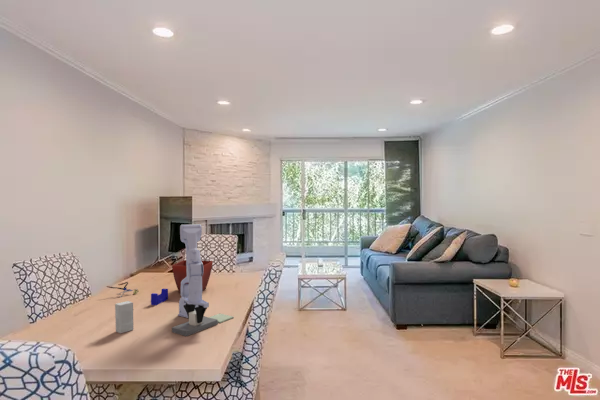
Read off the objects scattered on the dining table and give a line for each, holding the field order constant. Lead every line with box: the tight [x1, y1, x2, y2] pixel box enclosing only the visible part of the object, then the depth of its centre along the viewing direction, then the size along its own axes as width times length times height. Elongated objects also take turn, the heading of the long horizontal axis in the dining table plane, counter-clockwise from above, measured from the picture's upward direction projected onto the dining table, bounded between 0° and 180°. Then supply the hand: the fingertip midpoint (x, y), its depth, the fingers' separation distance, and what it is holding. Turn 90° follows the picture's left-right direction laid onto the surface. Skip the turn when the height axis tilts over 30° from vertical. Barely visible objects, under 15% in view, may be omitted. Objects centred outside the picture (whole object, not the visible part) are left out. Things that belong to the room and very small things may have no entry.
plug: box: [188, 311, 202, 326], centre depth 170 cm, size 4×4×7 cm
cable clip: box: [150, 288, 169, 306], centre depth 211 cm, size 12×4×6 cm, turn 169°
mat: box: [208, 313, 235, 324], centre depth 183 cm, size 9×9×1 cm
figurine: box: [105, 281, 139, 298], centre depth 224 cm, size 10×9×20 cm
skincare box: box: [114, 300, 135, 334], centre depth 167 cm, size 6×4×12 cm
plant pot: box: [171, 259, 214, 293], centre depth 236 cm, size 19×19×17 cm
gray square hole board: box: [171, 316, 219, 337], centre depth 170 cm, size 9×18×2 cm, turn 147°
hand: (195, 321), depth 170 cm, fingers open, 5 cm apart
